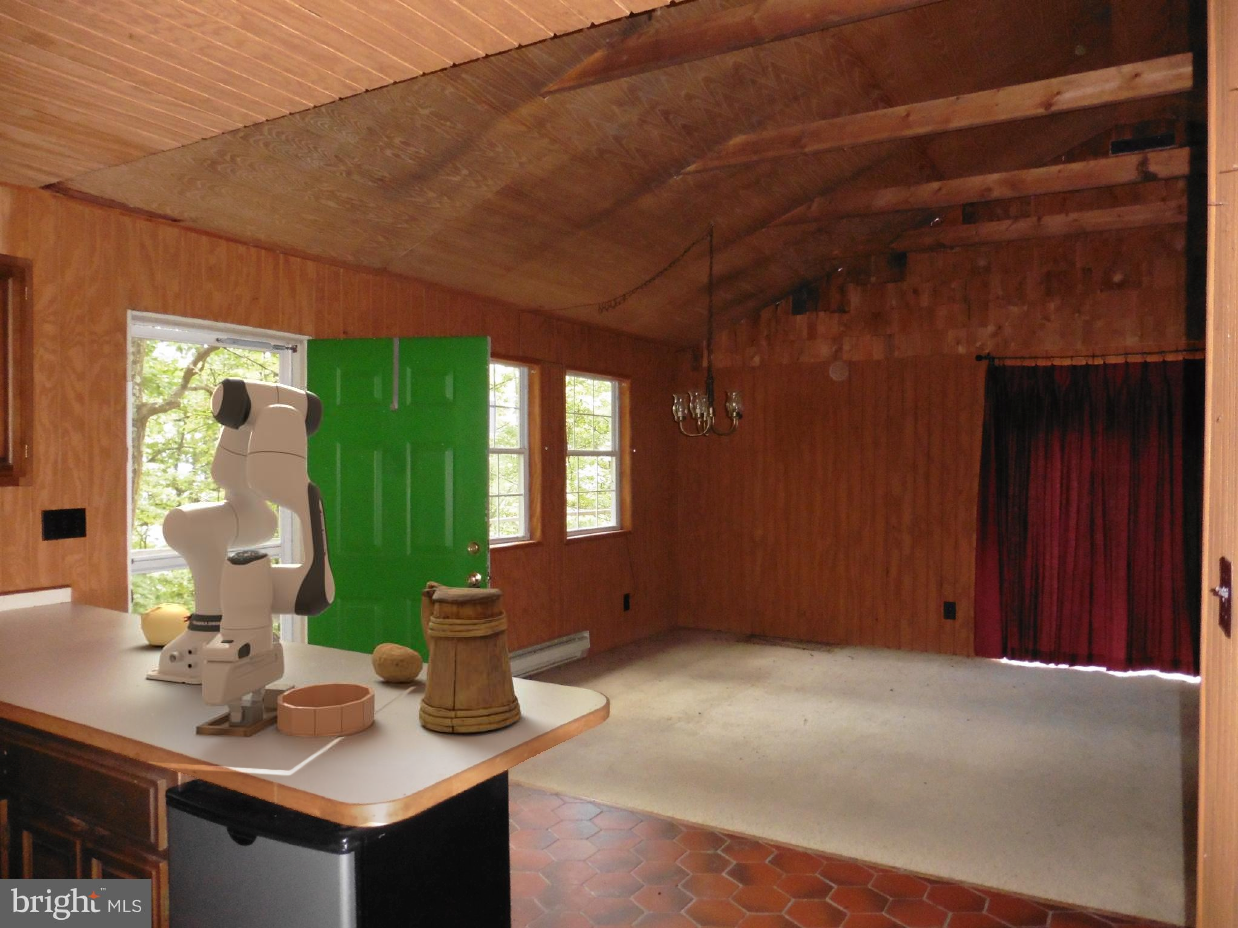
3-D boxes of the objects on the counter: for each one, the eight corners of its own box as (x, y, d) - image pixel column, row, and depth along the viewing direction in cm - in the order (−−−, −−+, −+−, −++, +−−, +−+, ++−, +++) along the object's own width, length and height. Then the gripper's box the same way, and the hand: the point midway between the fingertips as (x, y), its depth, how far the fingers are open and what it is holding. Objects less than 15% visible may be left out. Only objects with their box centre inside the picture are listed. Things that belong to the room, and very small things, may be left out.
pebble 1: (229, 725, 149) (229, 705, 149) (241, 718, 152) (241, 699, 152) (251, 726, 148) (251, 706, 148) (263, 720, 152) (263, 700, 152)
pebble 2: (263, 707, 160) (263, 688, 160) (273, 701, 163) (274, 683, 163) (284, 708, 159) (284, 689, 159) (294, 702, 163) (294, 684, 163)
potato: (395, 692, 173) (395, 654, 172) (361, 680, 182) (361, 644, 182) (435, 683, 180) (435, 647, 180) (400, 672, 189) (400, 637, 189)
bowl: (258, 737, 144) (258, 705, 144) (307, 709, 161) (307, 680, 161) (347, 742, 142) (348, 710, 142) (388, 713, 158) (388, 684, 158)
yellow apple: (179, 637, 224) (179, 598, 224) (201, 643, 217) (202, 602, 217) (134, 645, 215) (134, 603, 215) (156, 651, 208) (156, 608, 208)
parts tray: (196, 737, 144) (196, 726, 144) (278, 695, 170) (278, 686, 170) (249, 740, 143) (249, 729, 143) (323, 697, 168) (323, 688, 168)
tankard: (472, 743, 142) (473, 598, 142) (381, 718, 155) (382, 586, 155) (539, 717, 157) (540, 586, 157) (451, 696, 170) (452, 575, 170)
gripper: (263, 628, 161) (262, 699, 161) (195, 652, 141) (194, 733, 141) (293, 629, 160) (292, 700, 160) (229, 654, 140) (228, 735, 140)
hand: (246, 716), depth 150 cm, fingers closed on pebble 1, 4 cm apart
